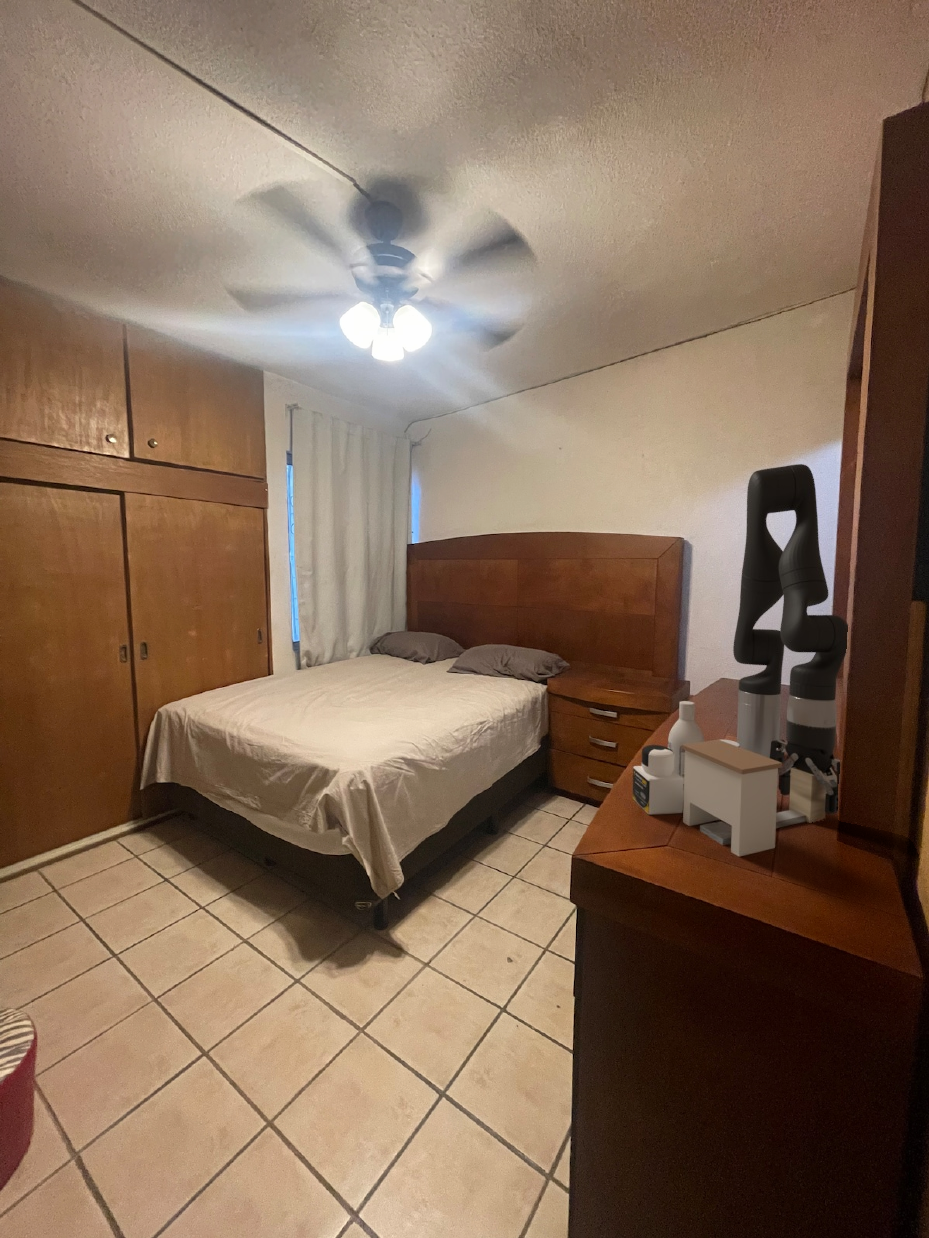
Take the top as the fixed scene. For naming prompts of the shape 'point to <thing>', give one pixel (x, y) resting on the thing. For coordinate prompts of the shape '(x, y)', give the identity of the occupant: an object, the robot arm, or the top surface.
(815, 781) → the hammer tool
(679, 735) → the bath foam
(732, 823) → the cabinet
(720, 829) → the plate
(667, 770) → the medicine bottle
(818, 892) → the top surface
